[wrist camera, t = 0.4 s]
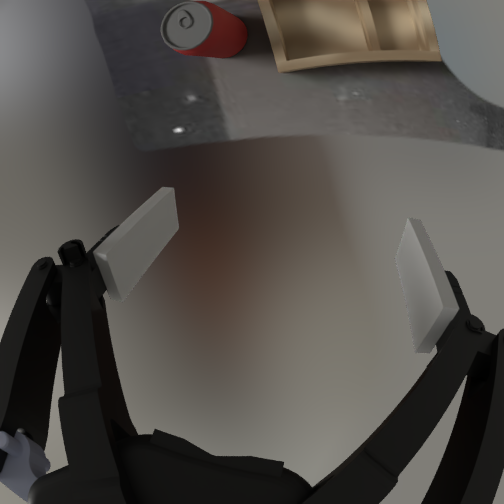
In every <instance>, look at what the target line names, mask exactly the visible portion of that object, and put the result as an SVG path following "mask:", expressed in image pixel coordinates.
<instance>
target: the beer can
mask: <svg viewBox="0 0 504 504" xmlns="http://www.w3.org/2000/svg"><path fill="white" fill-rule="evenodd" d="M161 35H162V38H163V40H164V42H165V43H166V44H167V45H168V46H169V47H171V48H173V49H174V50H175V51H177V52H179V53H182V54H184V55H192V56H204V57H215V58H227V57H231V56H233V55H235V54H237V53H238V52H239V51H240V50H241V49H242V48H243V47H244V45H245V43H246V41H247V36H248V34H247V28H246V26H245V25H244V23H243V22H242V21H241V20H240V19H239V18H237V17H236V16H234V15H232V14H231V13H229V12H227V11H225V10H224V9H222V8H220V7H218V6H216V5H214V4H212V3H209V2H206V1H186V2H183V3H179V4H177V5H176V6H174V7H173V8H171V9H170V10H169V11H168V12H167V14H166V15H165V17H164V19H163V21H162V24H161Z"/></svg>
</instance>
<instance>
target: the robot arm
mask: <svg viewBox="0 0 504 504" xmlns="http://www.w3.org/2000/svg"><path fill="white" fill-rule="evenodd" d="M178 229H179V225H178V218H177V210H176V202H175V194H174V188H167V187H162V188H161V189H160V190H158V191H157V192H156V193H155V194H154V195H153V196H152V197H150V198H149V199H148V200H147V201H146V202H145V203H144V204H143V205H142V206H140V207H139V208H138V209H137V210H136V211H135V212H134V213H133V214H132V215H130V216H129V217H128V218H127V219H126V220H125V221H124V222H123V223H122V224H121V225H118V226H116V227H114V228H113V229H111V230H110V231H109V232H108V233H106V234H105V236H104V237H102V238H101V239H100V241H98V242H97V243H96V244H95V245H94V246H93V247H92V248H91V249H90V250H89V251H88V252H87V253H86V251H85V248H84V245H83V242H82V241H81V240H76V239H75V240H70V241H68V242H66V243H64V244H63V245H62V246H61V247H60V248H59V250H58V254H59V257H60V259H61V261H62V264H63V265H55V263H54V261H53V259H52V258H51V257H44V258H41V259H39V260H38V261H37V262H36V263H35V264H34V265H33V266H32V268H31V270H30V272H29V274H28V276H27V278H26V280H25V283H24V285H23V287H22V289H21V291H20V294H19V296H18V298H17V300H16V303H15V305H14V308H13V310H12V313H11V315H10V317H9V320H8V323H7V325H6V328H5V331H4V334H3V337H2V339H1V342H0V481H1V482H2V483H3V484H4V485H6V486H7V487H8V488H9V489H10V490H12V491H13V492H14V493H16V494H17V495H18V496H19V497H21V498H22V499H23V500H25V501H26V502H28V504H379V503H380V502H381V501H382V500H383V499H384V498H385V497H386V496H387V495H388V493H389V492H390V491H391V490H392V489H393V487H394V486H395V485H396V483H397V482H398V476H399V474H400V473H401V472H402V471H403V469H404V468H405V467H406V466H407V465H408V463H409V462H410V461H411V459H412V458H413V457H414V456H415V454H416V453H417V452H418V450H419V449H420V448H421V447H422V445H423V444H424V442H425V441H426V439H427V438H428V437H429V435H430V434H431V433H432V431H433V430H434V428H435V427H436V425H437V423H438V422H439V421H440V419H441V418H442V416H443V414H444V413H445V411H446V410H447V408H448V406H449V405H450V403H451V401H452V399H453V398H454V396H455V394H456V392H457V391H458V389H459V387H460V385H461V383H462V382H463V380H464V378H465V376H466V375H467V380H466V384H465V389H464V392H463V396H462V400H461V404H460V407H459V411H458V414H457V418H456V421H455V424H454V427H453V430H452V433H451V436H450V439H449V442H448V445H447V447H446V450H445V453H444V455H443V458H442V460H441V462H440V465H439V467H438V470H437V472H436V474H435V476H434V479H433V481H432V483H431V485H430V487H429V490H428V491H427V493H426V495H425V498H424V499H423V501H422V503H421V504H492V503H493V500H494V497H495V494H496V491H497V488H498V486H499V482H500V479H501V476H502V472H503V469H504V329H502V330H500V332H499V333H498V334H497V335H494V334H492V333H489V332H487V331H485V327H484V325H483V323H482V321H481V320H480V319H479V318H477V317H476V316H474V315H471V313H470V310H469V308H468V305H467V303H466V300H465V298H464V295H462V294H463V293H462V290H461V288H460V286H459V283H458V281H457V279H456V278H455V276H454V275H453V274H452V273H451V272H450V271H444V269H443V266H442V264H441V262H440V260H439V258H438V255H437V253H436V251H435V249H434V247H433V245H432V242H431V240H430V238H429V236H428V234H427V232H426V230H425V228H424V226H423V224H422V222H421V220H418V219H413V218H408V220H407V223H406V226H405V230H404V233H403V236H402V239H401V242H400V245H399V248H398V251H397V254H396V257H395V262H396V265H397V269H398V272H399V277H400V281H401V285H402V289H403V293H404V298H405V302H406V307H407V311H408V317H409V322H410V327H411V332H412V338H413V344H414V350H415V352H416V353H430V352H431V351H432V349H433V348H434V347H435V345H436V347H437V354H436V355H435V356H434V358H433V359H432V360H431V361H430V363H429V364H428V365H427V368H426V369H425V371H424V372H423V373H422V375H421V376H420V377H419V379H418V380H417V382H416V383H415V384H414V385H413V387H412V388H411V389H410V391H409V392H408V393H407V394H406V396H405V397H404V398H403V399H402V400H401V402H400V403H399V404H398V405H397V407H396V408H395V409H394V410H393V411H392V412H391V414H390V415H389V416H388V417H387V418H386V419H385V420H384V421H383V423H382V424H381V425H380V426H379V427H378V428H377V429H376V430H375V431H374V432H373V433H372V434H371V435H370V437H369V438H368V439H367V440H366V441H365V442H364V443H363V444H362V445H361V446H360V447H359V448H358V449H357V450H355V451H354V452H353V453H352V454H351V455H350V456H349V457H348V458H347V459H346V460H345V461H344V462H343V463H342V464H341V465H339V467H337V468H336V469H335V470H333V471H332V472H331V473H330V474H328V475H327V476H326V477H325V478H324V479H322V480H321V481H320V482H319V483H317V484H316V485H315V486H314V487H311V486H310V484H309V483H308V482H307V481H306V480H305V479H303V478H302V477H300V476H299V475H298V474H296V473H295V472H292V471H291V470H289V469H286V468H284V467H283V465H284V462H282V461H275V460H269V459H263V458H258V457H253V456H214V455H211V454H209V453H208V452H206V451H204V450H202V449H200V448H199V447H197V446H195V445H194V444H192V443H190V442H188V441H187V440H185V439H183V438H180V437H177V436H174V435H171V434H168V433H165V432H162V431H160V430H157V429H155V430H154V433H153V435H152V434H143V435H138V433H137V431H136V429H135V427H134V425H133V423H132V421H131V419H130V416H129V413H128V410H127V406H126V402H125V399H124V395H123V391H122V387H121V383H120V379H119V375H118V371H117V366H116V362H115V358H114V353H113V347H112V342H111V337H110V331H109V325H108V319H107V313H106V305H105V300H104V297H103V294H104V292H105V291H106V290H107V292H108V294H109V297H110V299H113V300H116V301H120V302H123V301H124V300H125V299H126V297H127V296H128V294H129V293H130V292H131V290H132V289H133V288H134V286H135V285H136V283H137V282H138V281H139V279H140V278H141V277H142V275H143V274H144V273H145V271H146V270H147V269H148V267H149V266H150V265H151V263H152V262H153V261H154V259H155V258H156V257H157V256H158V254H159V253H160V252H161V250H162V249H163V248H164V247H165V245H166V244H167V243H168V242H169V240H170V239H171V238H172V237H173V235H174V234H175V233H176V231H177V230H178ZM46 300H47V303H46ZM60 347H61V351H62V369H63V381H64V391H65V394H64V396H63V397H60V398H59V400H58V407H59V415H60V422H61V429H62V434H63V440H64V445H65V451H66V455H67V460H68V464H69V465H67V466H65V467H63V468H61V469H58V470H56V471H53V472H51V473H48V474H46V472H47V471H48V470H49V469H50V462H49V460H48V459H47V458H46V456H45V453H44V450H45V447H46V441H47V437H48V428H49V419H50V409H51V401H52V393H53V386H54V379H55V373H56V368H57V362H58V357H59V352H60Z"/></svg>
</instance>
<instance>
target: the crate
mask: <svg viewBox="0 0 504 504" xmlns="http://www.w3.org/2000/svg"><path fill="white" fill-rule="evenodd" d="M258 3H259V6H260V9H261V13H262V16H263V19H264V22H265V26H266V29H267V32H268V36H269V39H270V43H271V46H272V50H273V53H274V57H275V61H276V64H277V68H278V72H279V73H287V72H292V71H298V70H304V69H311V68H318V67H325V66H334V65H343V64H354V63H369V62H397V61H412V62H435V61H442V60H441V55H440V50H439V46H438V41H437V37H436V33H435V29H434V25H433V21H432V17H431V14H430V10H429V7H428V4H427V1H426V0H258Z"/></svg>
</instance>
